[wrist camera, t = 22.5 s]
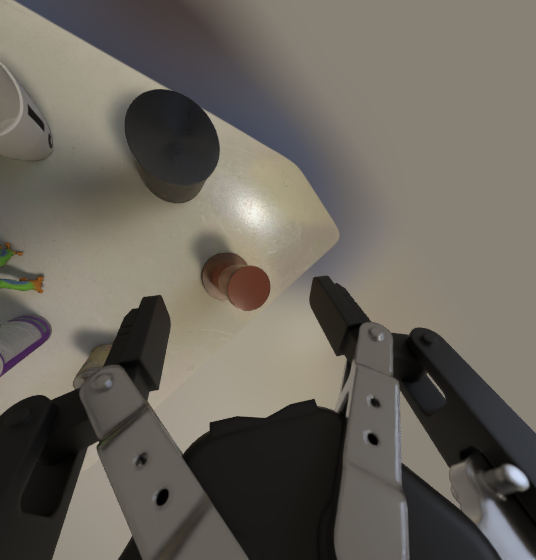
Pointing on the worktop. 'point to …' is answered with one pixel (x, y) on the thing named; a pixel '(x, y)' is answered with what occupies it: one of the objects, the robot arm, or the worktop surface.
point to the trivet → (209, 268)
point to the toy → (23, 284)
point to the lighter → (92, 364)
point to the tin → (171, 144)
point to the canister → (241, 284)
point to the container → (21, 339)
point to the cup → (21, 123)
